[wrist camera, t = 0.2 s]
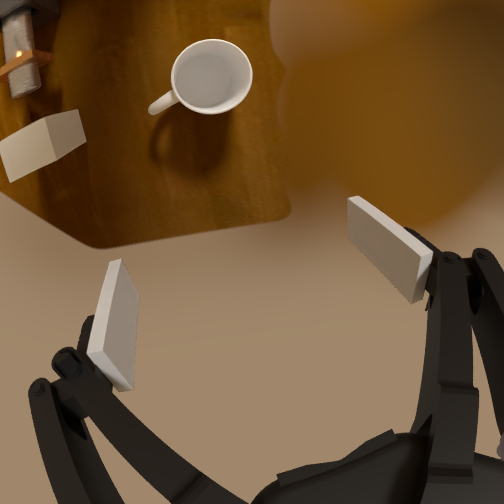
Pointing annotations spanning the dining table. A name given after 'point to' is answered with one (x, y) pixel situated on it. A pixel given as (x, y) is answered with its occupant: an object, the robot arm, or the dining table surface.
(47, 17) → the sleeve
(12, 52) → the tube
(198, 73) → the mug
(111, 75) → the dining table surface
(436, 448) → the robot arm
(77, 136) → the socket block
